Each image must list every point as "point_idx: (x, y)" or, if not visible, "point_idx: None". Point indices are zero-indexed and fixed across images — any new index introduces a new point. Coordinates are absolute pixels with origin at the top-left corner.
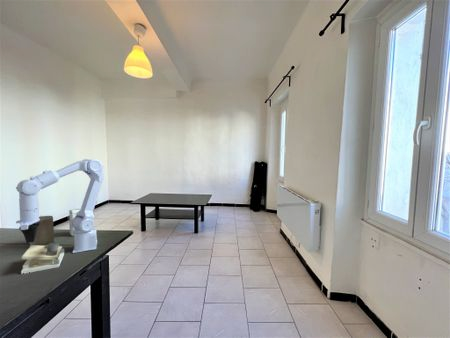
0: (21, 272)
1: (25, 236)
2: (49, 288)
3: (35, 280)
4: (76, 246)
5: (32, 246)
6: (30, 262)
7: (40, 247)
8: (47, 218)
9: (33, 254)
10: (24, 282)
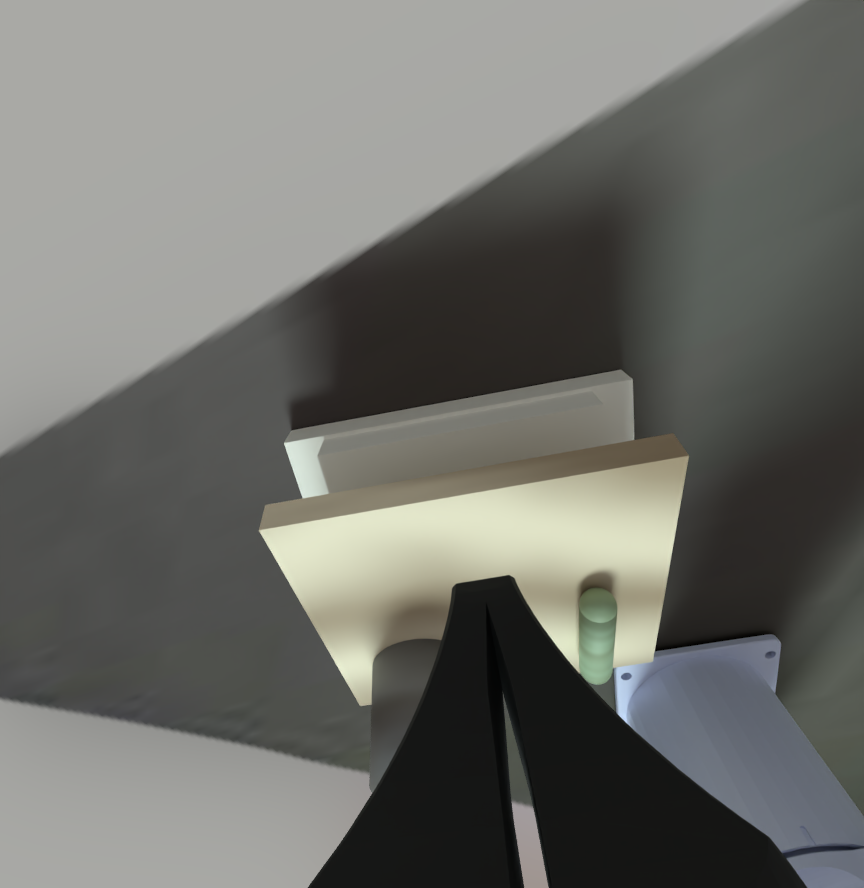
0: (286, 439)
1: (435, 689)
2: (46, 691)
3: (160, 579)
4: (662, 715)
5: (633, 482)
6: (404, 477)
7: (601, 553)
8: None
9: (361, 579)
10: (136, 522)
